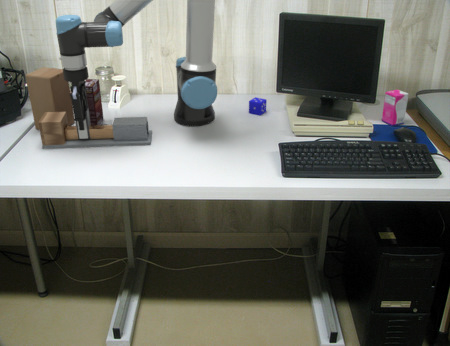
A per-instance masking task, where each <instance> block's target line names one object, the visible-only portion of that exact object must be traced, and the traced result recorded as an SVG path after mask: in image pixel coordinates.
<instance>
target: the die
mask: <svg viewBox="0 0 450 346" xmlns="http://www.w3.org/2000/svg"><path fill="white" fill-rule="evenodd" d="M266 112H267V98H266V99H265V98H261V97H253V98H252V99H250V100H249V101H248V114H251V115H256V116H262V115H263V114H264V113H266Z"/></svg>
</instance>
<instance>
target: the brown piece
mask: <svg viewBox="0 0 450 346" xmlns="http://www.w3.org/2000/svg"><path fill="white" fill-rule="evenodd" d="M83 109H84V118H85V119H86V125H87V132H88V138H86V139H80V138H79V132H78V125H77V121H75V125H70V126H65V127H64V135H65V140H71V139H78V140H90V139H103V138H114V136H113V128H112V124H101V125H91V123H90V116H89V108H88V107H87V108H83Z"/></svg>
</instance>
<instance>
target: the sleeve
mask: <svg viewBox="0 0 450 346" xmlns="http://www.w3.org/2000/svg"><path fill="white" fill-rule="evenodd" d="M148 119H149V118H148V116H135V117H134V116H128V117H127V116H126V117H114V119H113V121H112V124H111V125H112V128H113V136H114V141H145V140H148V137H147V134H149V130H150V129H149V120H148Z"/></svg>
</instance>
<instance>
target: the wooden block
mask: <svg viewBox="0 0 450 346" xmlns="http://www.w3.org/2000/svg"><path fill="white" fill-rule="evenodd" d="M25 81H26V87H27V91H28V95H29V96H28V97H29V101H30V106H31V111H32V112H31V113H32V116H33V122H34V127H35V130H39V125H38V122H39V121H40V119H41V118H42V116H43V115H44V113H45V112H66V113H67V119H68V125H69V126H73V125H74V124H76V121H74V119H75V117H74V112H73V106H72V100H71V97H70V93H71V89H70V82H68V81H65V79H64V75H63V68H55V67H46V66H43V67H40V68H38V69H36V70H34V71H31V72H29V73H27V74H25Z"/></svg>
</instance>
